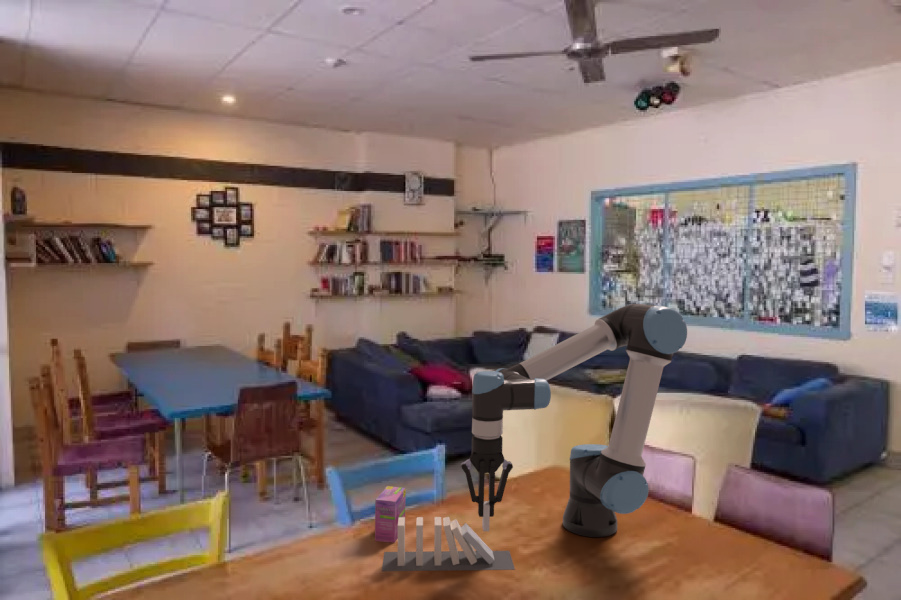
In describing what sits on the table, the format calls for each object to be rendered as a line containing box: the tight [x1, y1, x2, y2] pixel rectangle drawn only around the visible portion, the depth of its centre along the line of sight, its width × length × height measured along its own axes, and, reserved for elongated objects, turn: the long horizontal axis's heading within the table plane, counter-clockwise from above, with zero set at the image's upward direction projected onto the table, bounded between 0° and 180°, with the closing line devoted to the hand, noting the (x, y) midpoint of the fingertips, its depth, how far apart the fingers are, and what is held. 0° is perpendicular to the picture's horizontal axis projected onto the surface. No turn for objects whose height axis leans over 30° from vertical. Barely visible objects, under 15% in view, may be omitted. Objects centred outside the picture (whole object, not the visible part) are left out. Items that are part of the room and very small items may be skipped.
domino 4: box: [442, 516, 459, 565], centre depth 157 cm, size 2×5×10 cm, turn 2°
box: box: [374, 485, 407, 543], centre depth 172 cm, size 10×6×12 cm, turn 168°
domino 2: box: [415, 516, 424, 566], centre depth 156 cm, size 2×5×10 cm, turn 2°
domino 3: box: [433, 516, 443, 565], centre depth 156 cm, size 2×5×10 cm, turn 2°
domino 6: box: [461, 522, 495, 565], centre depth 157 cm, size 2×5×10 cm
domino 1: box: [397, 516, 406, 566], centre depth 156 cm, size 2×5×10 cm, turn 2°
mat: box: [381, 550, 516, 572], centre depth 157 cm, size 32×10×1 cm, turn 92°
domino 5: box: [450, 518, 477, 565], centre depth 157 cm, size 2×5×10 cm, turn 2°
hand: (485, 528), depth 157 cm, fingers closed
